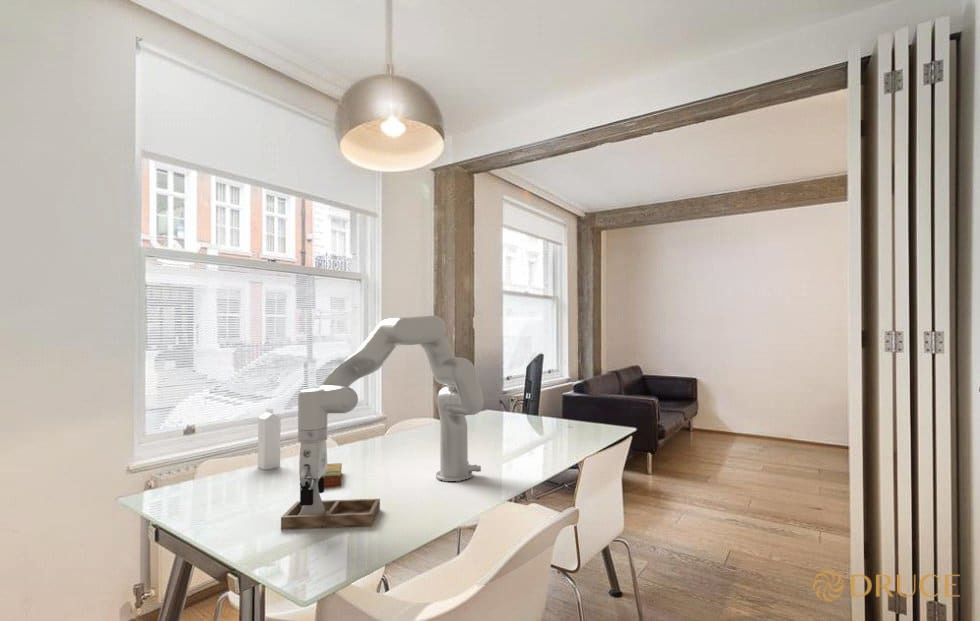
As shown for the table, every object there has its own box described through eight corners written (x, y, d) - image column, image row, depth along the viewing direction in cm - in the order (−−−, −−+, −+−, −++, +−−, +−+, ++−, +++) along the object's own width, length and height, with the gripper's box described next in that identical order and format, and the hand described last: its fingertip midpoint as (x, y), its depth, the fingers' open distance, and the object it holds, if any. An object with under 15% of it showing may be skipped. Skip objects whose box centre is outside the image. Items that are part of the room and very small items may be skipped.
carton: (341, 474, 174) (341, 462, 174) (341, 487, 158) (341, 474, 158) (317, 476, 171) (317, 464, 171) (314, 489, 156) (314, 476, 156)
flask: (303, 512, 133) (303, 475, 133) (329, 511, 133) (330, 474, 134) (294, 522, 125) (295, 483, 126) (323, 521, 126) (323, 482, 127)
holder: (379, 509, 136) (379, 498, 136) (371, 526, 124) (371, 514, 124) (297, 512, 135) (297, 501, 135) (280, 529, 123) (281, 517, 123)
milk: (264, 470, 179) (264, 410, 180) (257, 467, 183) (258, 409, 184) (280, 466, 183) (280, 408, 184) (273, 464, 187) (273, 407, 188)
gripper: (317, 441, 122) (317, 509, 121) (335, 428, 139) (335, 488, 138) (287, 442, 121) (286, 510, 121) (309, 428, 139) (308, 489, 138)
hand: (312, 498), depth 129 cm, fingers open, 9 cm apart
